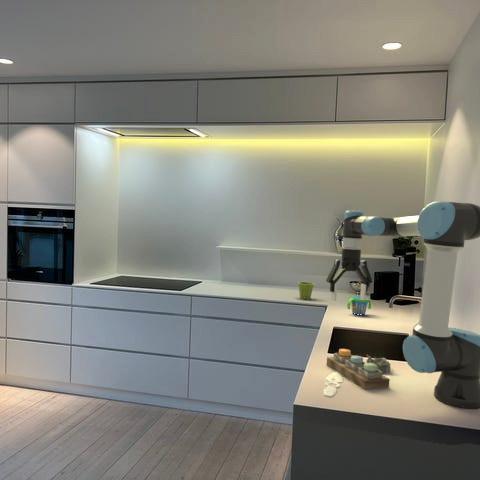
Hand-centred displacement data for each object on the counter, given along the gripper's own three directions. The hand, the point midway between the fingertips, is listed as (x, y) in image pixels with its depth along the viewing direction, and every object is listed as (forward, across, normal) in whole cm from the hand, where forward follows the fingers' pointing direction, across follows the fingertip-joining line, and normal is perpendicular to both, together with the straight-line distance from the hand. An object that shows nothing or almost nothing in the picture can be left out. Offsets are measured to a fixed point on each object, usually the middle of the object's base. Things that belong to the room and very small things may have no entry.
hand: (348, 299), depth 191 cm
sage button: (+20, +6, +28) cm, 35 cm away
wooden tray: (+24, +6, +19) cm, 32 cm away
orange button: (+20, +7, +11) cm, 24 cm away
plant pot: (+25, -43, -127) cm, 136 cm away
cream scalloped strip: (+25, +18, +24) cm, 39 cm away
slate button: (+20, +6, +19) cm, 28 cm away
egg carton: (+25, -8, +13) cm, 29 cm away
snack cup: (+25, -55, -77) cm, 98 cm away
